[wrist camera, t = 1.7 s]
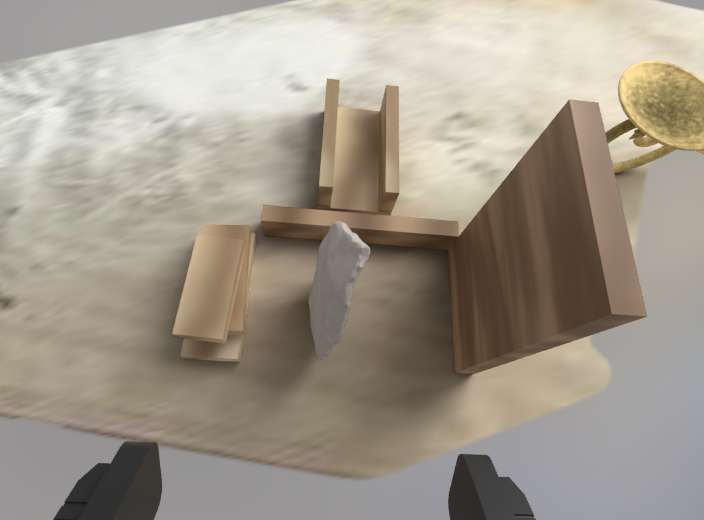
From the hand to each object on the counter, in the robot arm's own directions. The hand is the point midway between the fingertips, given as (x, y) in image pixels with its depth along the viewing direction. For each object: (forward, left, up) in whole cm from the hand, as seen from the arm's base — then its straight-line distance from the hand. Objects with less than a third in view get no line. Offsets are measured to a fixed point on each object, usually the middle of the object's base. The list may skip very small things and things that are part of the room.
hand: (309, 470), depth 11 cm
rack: (+4, +13, -23) cm, 27 cm away
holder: (+3, +26, -23) cm, 36 cm away
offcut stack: (-8, +11, -23) cm, 27 cm away
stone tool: (+1, +10, -24) cm, 26 cm away
